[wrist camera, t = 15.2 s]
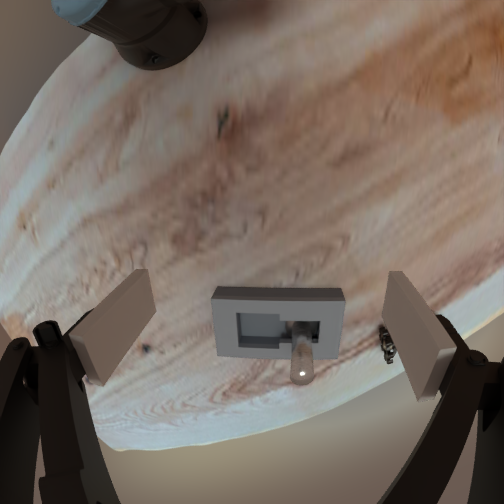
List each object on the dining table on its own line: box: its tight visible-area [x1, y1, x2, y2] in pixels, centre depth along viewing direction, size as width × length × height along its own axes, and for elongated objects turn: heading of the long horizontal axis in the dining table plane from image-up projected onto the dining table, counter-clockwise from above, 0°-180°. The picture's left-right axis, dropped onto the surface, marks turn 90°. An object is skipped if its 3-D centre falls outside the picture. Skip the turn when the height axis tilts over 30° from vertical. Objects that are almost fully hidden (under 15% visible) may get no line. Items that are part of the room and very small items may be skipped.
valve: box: [379, 327, 397, 364], centre depth 43 cm, size 7×7×12 cm
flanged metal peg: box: [285, 321, 318, 385], centre depth 41 cm, size 5×5×14 cm
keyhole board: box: [211, 287, 345, 360], centre depth 46 cm, size 20×11×4 cm, turn 91°
